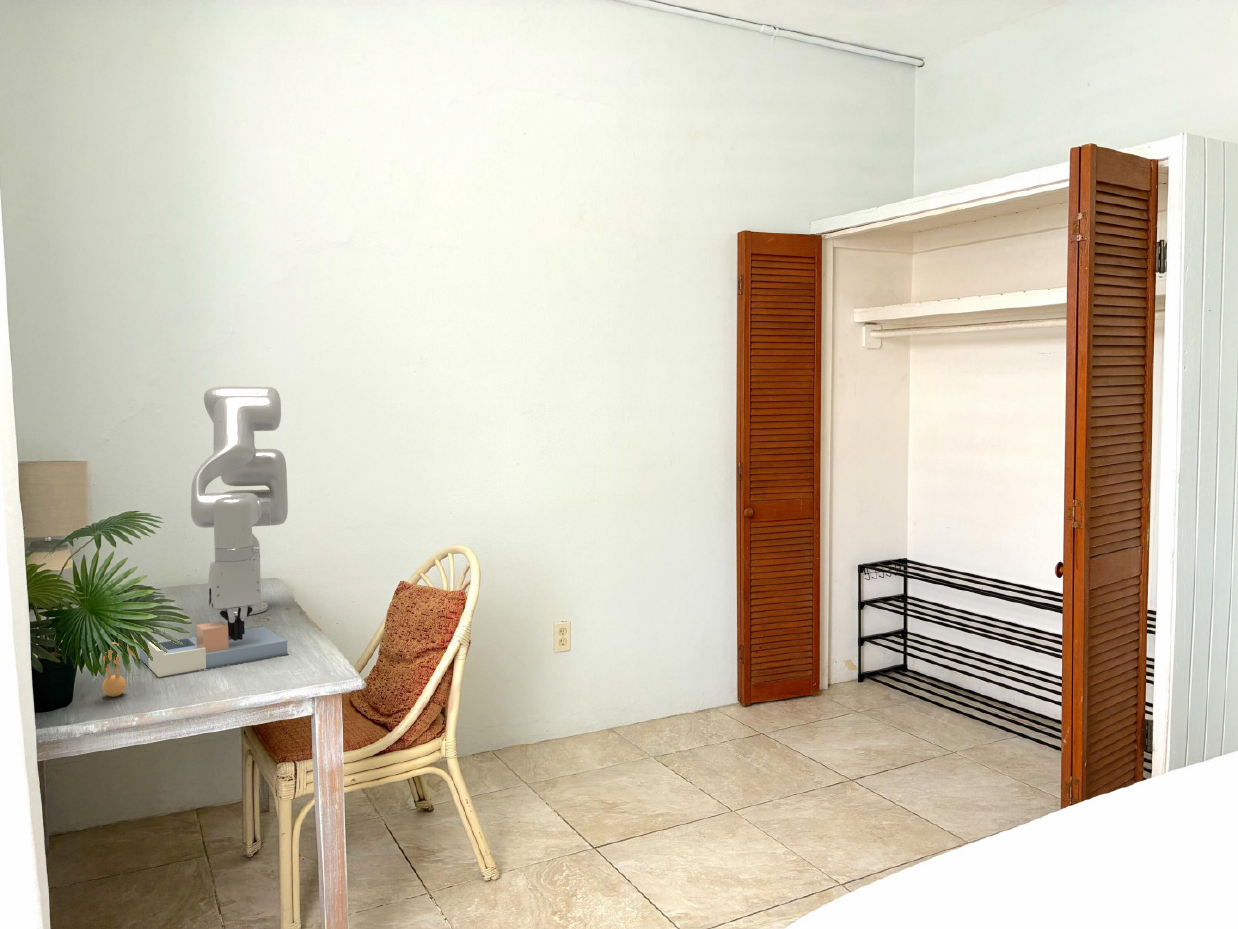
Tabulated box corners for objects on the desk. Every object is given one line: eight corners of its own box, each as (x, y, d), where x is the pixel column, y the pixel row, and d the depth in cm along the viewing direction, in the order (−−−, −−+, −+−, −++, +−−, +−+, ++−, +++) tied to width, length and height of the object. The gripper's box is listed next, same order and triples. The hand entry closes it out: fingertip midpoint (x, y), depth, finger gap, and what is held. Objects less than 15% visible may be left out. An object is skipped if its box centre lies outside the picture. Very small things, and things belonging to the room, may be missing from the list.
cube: (196, 648, 195) (196, 625, 195) (221, 644, 199) (220, 621, 198) (203, 653, 192) (202, 629, 191) (228, 649, 195) (228, 626, 194)
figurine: (141, 690, 177) (138, 629, 176) (135, 700, 171) (132, 637, 170) (92, 694, 175) (89, 632, 174) (84, 705, 169) (82, 641, 168)
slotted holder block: (139, 658, 198) (138, 633, 197) (262, 638, 214) (261, 615, 214) (159, 678, 185) (158, 651, 184) (288, 655, 201) (288, 630, 201)
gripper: (263, 548, 205) (265, 629, 206) (191, 556, 195) (194, 641, 196) (275, 553, 199) (277, 636, 200) (202, 561, 189) (205, 648, 191)
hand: (236, 638), depth 198 cm, fingers closed
